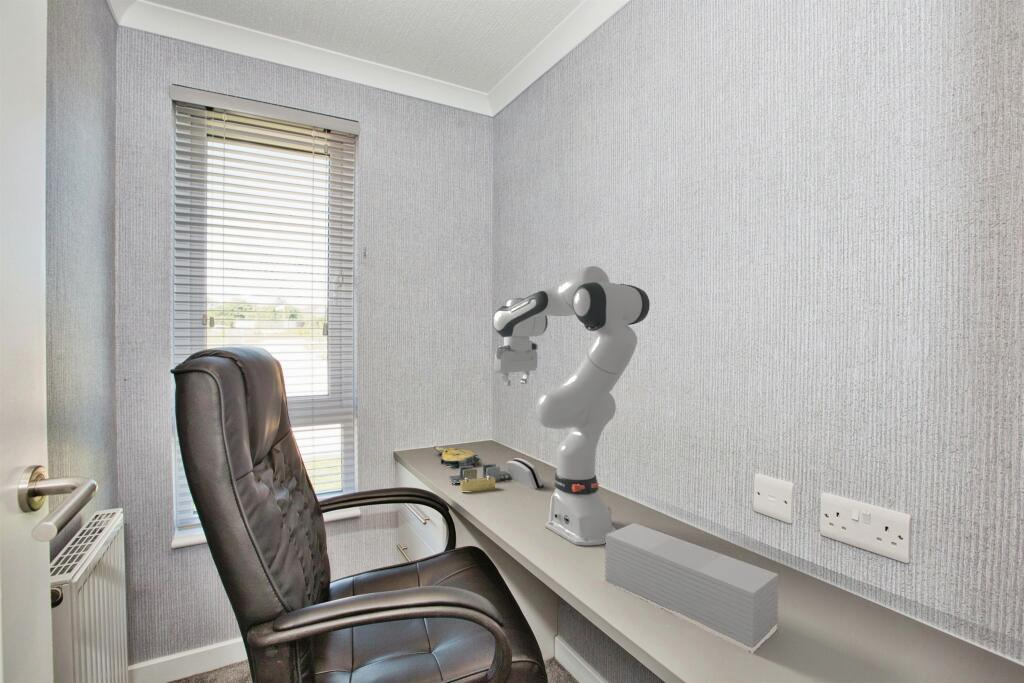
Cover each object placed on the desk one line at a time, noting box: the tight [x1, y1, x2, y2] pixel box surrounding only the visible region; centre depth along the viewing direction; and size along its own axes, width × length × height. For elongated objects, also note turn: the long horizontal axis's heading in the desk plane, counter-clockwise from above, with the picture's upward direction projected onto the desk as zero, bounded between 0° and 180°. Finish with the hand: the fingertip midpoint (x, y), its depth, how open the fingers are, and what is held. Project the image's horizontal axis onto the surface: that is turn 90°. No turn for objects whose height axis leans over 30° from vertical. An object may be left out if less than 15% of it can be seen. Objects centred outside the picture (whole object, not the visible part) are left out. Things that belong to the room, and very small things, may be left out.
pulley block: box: [433, 445, 483, 469], centre depth 211 cm, size 14×6×30 cm
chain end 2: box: [481, 463, 510, 482], centre depth 185 cm, size 6×9×5 cm, turn 111°
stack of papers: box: [604, 522, 779, 648], centre depth 100 cm, size 32×11×11 cm, turn 41°
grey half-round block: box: [505, 457, 546, 490], centre depth 180 cm, size 17×5×10 cm, turn 33°
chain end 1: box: [449, 464, 478, 483], centre depth 181 cm, size 6×9×5 cm, turn 111°
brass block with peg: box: [459, 476, 496, 492], centre depth 171 cm, size 2×12×5 cm, turn 111°
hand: (515, 384), depth 171 cm, fingers open, 8 cm apart
